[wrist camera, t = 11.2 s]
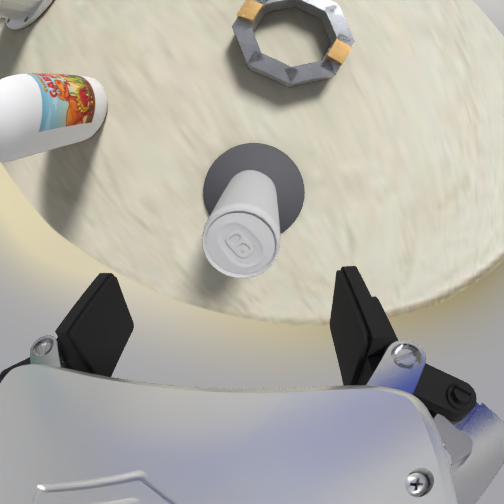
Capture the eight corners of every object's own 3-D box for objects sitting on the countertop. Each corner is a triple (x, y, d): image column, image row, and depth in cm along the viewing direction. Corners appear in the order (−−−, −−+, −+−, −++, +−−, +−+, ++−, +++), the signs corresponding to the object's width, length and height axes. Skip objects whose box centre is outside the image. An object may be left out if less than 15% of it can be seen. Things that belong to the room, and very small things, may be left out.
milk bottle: (101, 146, 26) (-51, 208, 8) (54, 136, 25) (-82, 186, 7) (117, 79, 23) (-44, 76, 5) (67, 75, 22) (-76, 85, 4)
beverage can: (247, 224, 29) (234, 292, 18) (217, 188, 27) (183, 238, 16) (286, 197, 27) (297, 254, 17) (256, 158, 26) (246, 189, 15)
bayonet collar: (220, 57, 22) (214, 50, 19) (267, -16, 17) (267, -30, 14) (315, 102, 23) (322, 99, 20) (358, 27, 19) (369, 18, 16)
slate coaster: (190, 212, 29) (189, 214, 29) (230, 126, 25) (229, 126, 24) (274, 252, 31) (274, 255, 30) (321, 173, 26) (322, 174, 26)
